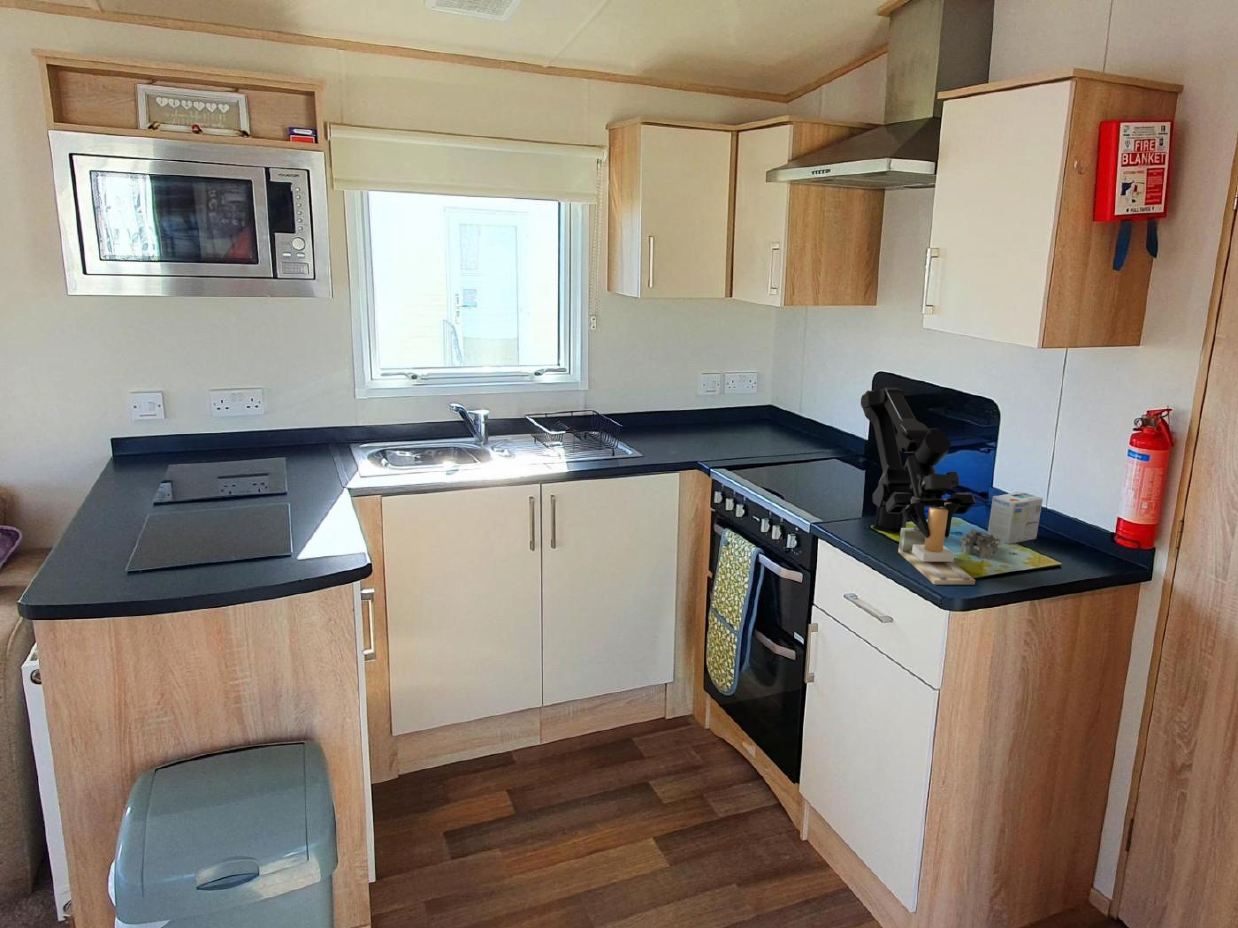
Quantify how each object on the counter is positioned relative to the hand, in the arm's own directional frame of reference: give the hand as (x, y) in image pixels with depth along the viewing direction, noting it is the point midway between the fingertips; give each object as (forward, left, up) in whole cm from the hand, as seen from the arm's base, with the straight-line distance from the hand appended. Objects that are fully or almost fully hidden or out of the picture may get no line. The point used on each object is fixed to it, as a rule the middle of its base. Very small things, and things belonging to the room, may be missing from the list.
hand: (937, 537), depth 191 cm
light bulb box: (+6, +35, -7) cm, 36 cm away
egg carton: (+3, +19, -8) cm, 21 cm away
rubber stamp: (-1, +1, -5) cm, 5 cm away
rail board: (0, 0, -7) cm, 7 cm away
